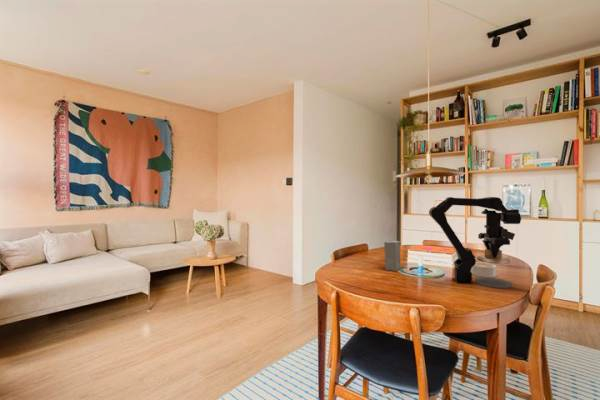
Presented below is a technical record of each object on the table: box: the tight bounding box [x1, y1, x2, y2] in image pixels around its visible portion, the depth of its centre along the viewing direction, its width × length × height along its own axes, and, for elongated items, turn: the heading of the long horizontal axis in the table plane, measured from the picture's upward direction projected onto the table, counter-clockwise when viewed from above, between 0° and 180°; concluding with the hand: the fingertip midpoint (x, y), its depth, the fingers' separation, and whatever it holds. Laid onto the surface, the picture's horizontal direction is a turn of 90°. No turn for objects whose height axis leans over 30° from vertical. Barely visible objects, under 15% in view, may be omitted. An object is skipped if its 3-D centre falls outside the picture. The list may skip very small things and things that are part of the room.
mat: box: [474, 276, 513, 289], centre depth 141 cm, size 15×15×1 cm
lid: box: [476, 248, 511, 265], centre depth 141 cm, size 13×13×5 cm
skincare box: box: [383, 240, 402, 272], centre depth 169 cm, size 8×7×16 cm
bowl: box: [471, 261, 498, 278], centre depth 156 cm, size 11×11×5 cm
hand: (493, 256), depth 141 cm, fingers closed on lid, 3 cm apart
